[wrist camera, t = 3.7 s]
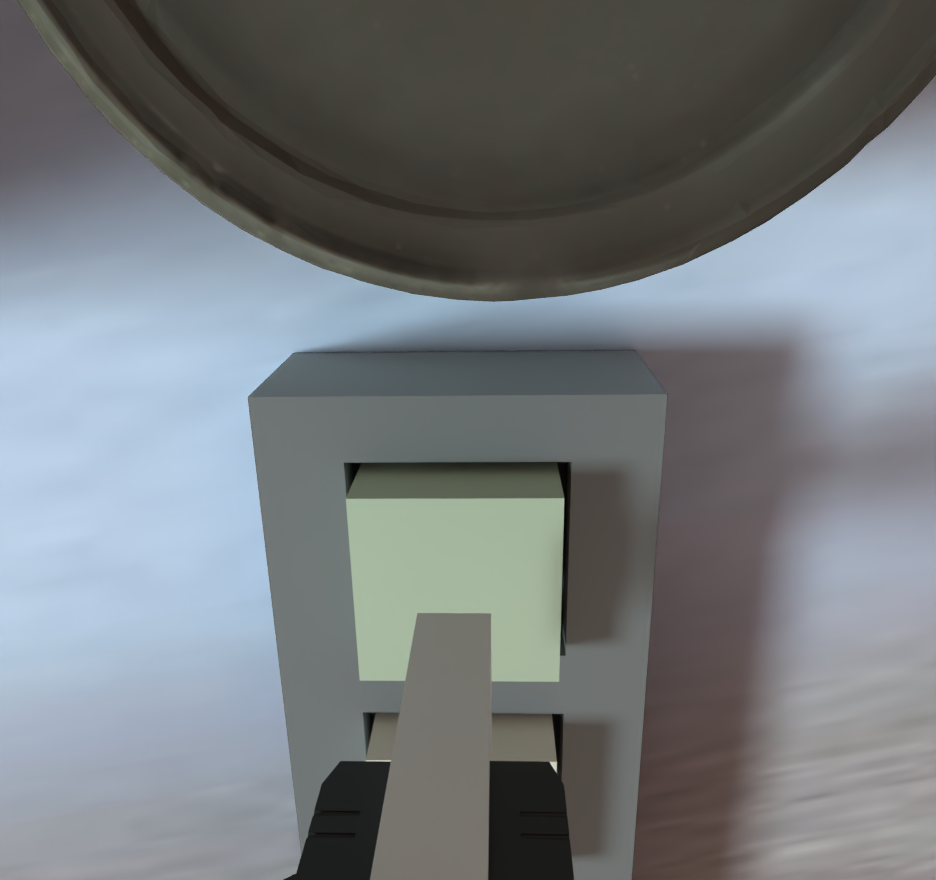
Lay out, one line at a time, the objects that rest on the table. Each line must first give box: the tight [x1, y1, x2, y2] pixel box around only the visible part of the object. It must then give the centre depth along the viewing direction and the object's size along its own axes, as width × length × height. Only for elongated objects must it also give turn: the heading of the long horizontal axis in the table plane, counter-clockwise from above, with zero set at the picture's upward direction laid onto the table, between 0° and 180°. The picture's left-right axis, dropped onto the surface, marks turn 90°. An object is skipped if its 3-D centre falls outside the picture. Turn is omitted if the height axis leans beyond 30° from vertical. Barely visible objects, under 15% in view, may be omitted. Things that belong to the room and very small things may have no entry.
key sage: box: [346, 462, 564, 682], centre depth 20 cm, size 5×5×3 cm
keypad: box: [248, 350, 668, 880], centre depth 25 cm, size 24×10×4 cm, turn 1°
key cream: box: [366, 712, 557, 773], centre depth 23 cm, size 5×5×3 cm
